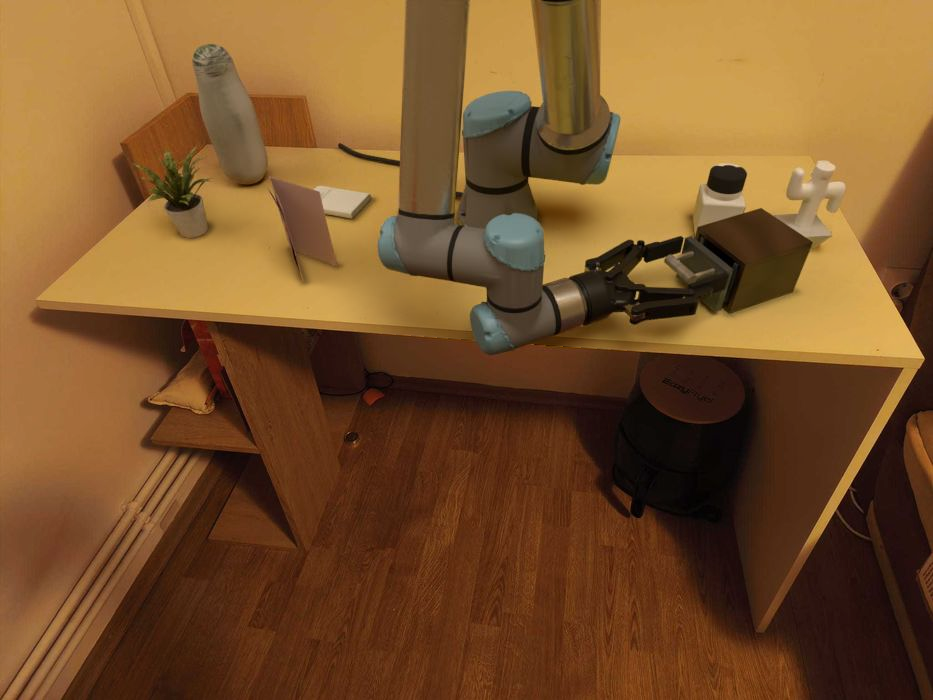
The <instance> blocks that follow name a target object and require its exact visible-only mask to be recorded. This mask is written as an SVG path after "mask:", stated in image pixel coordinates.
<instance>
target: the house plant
mask: <svg viewBox="0 0 933 700" xmlns="http://www.w3.org/2000/svg"><path fill="white" fill-rule="evenodd" d="M197 147H198V145H197V146H194V147H193V148H192V149H191V150H190V151H189V152H188V154H187V156H186V158H183V160H181V161H179V162H178V164H177V163H176V160H175V158H174V156H173V154H172V153H171V151H170V150H169V149H168V148H167V147H166V148H165V150H164V153H163V159H162V158H161V157H160V156H158V155H155V157H156V158H157V159H158V161H159V162H160V163H161V165H162V166H163V168H164V169H165V172H166V175H165V176H164V180H163V179H162V178H161V177H160V176H159V175H158V174H157V173H155V172H154V171H153V170H152V169H150V168H148V167H145V166H142V165H140V164H138V163H132V162H131V164H130V165H133V166H135V167H137V168H138V169H140V170H141V171H143V172H144V173H145V174H146V175H148V176H149V178H151V179H149V178H147V177H142V176H139V177H138V178H139V179H142V180H145V181H147V182H149V183H151V184H153V185H154V186H155V188H150V189H148V192H149V193H151V194H153V195H150V197H149V198H148V201H147V203H149V202H151V201H156V200H159V199H165V200H166V202H165V203H164V206H163V208H164V209H163V210H164V211H165V212H166V214H167V215H168V217H169V218H170V220H171V221H172V223H173V224H174V225H175V227H176V229H177V231H178V232H179V234H180V235H181V236H182V237H184V238H187V239H194V238H198V237H202V236H203V235H205V234H206V233H207V232H208V230H209V225H208V220H207V215H206V210H205V204H204V199H203V197H202V196H201V195H200V194H197V193H198V191H199V190H200V188H201V187H202V186H203V185H204V184H205V183H206V182H210V183H211V182H212V181H211V180H213V179H214V177H209V178H200V179H197V180H195V181H194V182H192V181H193V180H194V177H195V175H196V173H197V172H198V171H200V170H204V169H205V167H199V168H196V169H195V167H196V166H195V165H196V164H197V162H199V161H201V160H202V159H205V158H208V157H209V155H204V156H200V157H198V158H196V159H194V161H192V160H193V158H194V157H195V155H196V153H194V152H195V151H196V149H197ZM191 162H192V163H191ZM182 163H183V166H182V168H181V169H182V171H181V173H179V170H178V167H179V166H180V165H181V164H182ZM194 169H195V170H194ZM193 170H194V171H193ZM197 184H200V185H199V186H198V188H197V189H196V191H195V192H192V190H193V189H194V187H195V186H196V185H197Z"/></svg>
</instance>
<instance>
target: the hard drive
mask: <svg viewBox="0 0 933 700" xmlns="http://www.w3.org/2000/svg"><path fill="white" fill-rule="evenodd" d="M312 190H316V191H319V192H320V196H321V200H322V204H323V208H324V213H325V215H328V216H335V217H339V218H346V219H350V220H353V219H354V218H355V217H356V216H357V215H359V213H360V212H361V211H362V210H363V209H364V208H365V207H366V206H367V205H368V203H369V202H371V200H372V195H371V193H370V192H364V191H363V192H362V191H356V190H352V189H351V190H350V189H345V188H344V189H343V188H339V187H332V186H325V185H319V184H318V185H316V187H314V188H313V189H312Z"/></svg>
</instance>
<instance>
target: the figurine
mask: <svg viewBox="0 0 933 700" xmlns="http://www.w3.org/2000/svg"><path fill="white" fill-rule="evenodd" d="M805 171H806V170H804V168H802V167H795V168H794V169H793V171H792V173H791V175H790V179H789V181H788V184H787V187H786V192H785V195H786V198H787V200H789V201H802V202H801V204H800V207H799V209H798V212H797V213H786V214H773V216H774V217H776V218H777V219H779V220H780V221H782V222H783V223H785V224H786V225H788V226H789V227H791V228H792V229H794V230H795V231H797V232H798V233H800V234H801V235H803V236H804V237H806V238H807V239H809V240H810V241H812V242H813V244H812V246H811V249H810V250H814V249H816V248H817V247H818V246H820V245H822V244H823V243H824V242H826V241H827V240H828V239H830V238H832V237H833V236H834V235H833V233H832V232H831V231H830V229H829V228H827V226H826V224H824V222H823V221H822V220H821V219H820V218H819V217H818V215H817V213H818V211H819V207H820V206H821V203H822V201H823V200H827V199H828V200H827V203H826V205H825V210H827V212H829V213H831V214H834V213H837V212H838V211H839V208H840V206H841V204H842V201H843V199H844V196H845V193H846V189H847V186H846V183H844V182H843V181H830V180H831V178H832V177H833V175H834V172H835V171H836V166H835V164H834V163H831V162H830V161H829V160H825V159H824V160H817V161H816V163H815V164H814V168H813V170H812V172H810V175H809V176H810V179H809V181H808V182H804V178H805V176H806V172H805Z"/></svg>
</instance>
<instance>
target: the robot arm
mask: <svg viewBox="0 0 933 700" xmlns="http://www.w3.org/2000/svg"><path fill="white" fill-rule="evenodd" d="M530 5H531V13H532V14H531V15H532V21H533V31H534V39H535V46H536V54H537V64H538V72H539V79H540V89H541V97H542V103H541V104H540V106H533V105H532V103H533V102H532V100H531V97H530V95H528V93H525V92H522V91H520V90H501V91H496V92H491V93H487V94H485V95H482V96H479V97H477V98H475V99H473V100H472V101H470V102H469V103H468V104H467V105H466V106H465V108H464V111H463V102H464V90H465V77H466V64H467V63H466V62H467V49H468V37H469V23H470V11H471V9H470V8H471V0H405V4H404V32H403V36H404V37H403V58H402V59H403V60H402V61H403V62H402V63H403V64H402V87H401V88H402V89H401V90H402V91H401V116H400V119H401V121H400V143H399V144H400V145H399V147H400V149H399V159H393V158H386V157H381V156H375V155H370V154H365V153H361V152H358V151H356V150H354V149H351V148H350V147H348V146H346V145H345V144H343V143H341V142H339V143H338V144H337V146H338V148H339V149H341V150H343V151H345V152H346V153H348V154H350V155H352V156H354V157H357V158H359V159H365V160H369V161H374V162H379V163H385V164H390V165H396V166H399V176H398V204H397V206H398V209H397V210H398V211H397V215H390V216H388V217H386V219H385V220H384V221H383V222H382V225H381V226H380V230H379V237H378V239H377V254H378V258H379V261H380V263H381V264H382V266H383V267H384V268H385V269H387V270H389V271H394V272H397V273H401V274H404V275H405V274H406V275H409V276H410V277H421V278H429V279H433V280H434V279H435V280H441V281H447V282H451V283H452V282H453V283H458V284H464V285H470V286H473V287H481V288H485V290H486V301H481V302H480V303H478V304H475V305H473V306H472V307H471V309H470V312H469V323H470V328H471V333H472V335H473V338H474V340H475V342H476V344H477V346H478V348H479V349H480V350H481V351H482V352H483V353H484V354H485V355H488V356H494V355H499V354H503V353H507V352H511V351H512V352H514V351H516V350H517V349H520V348H522V347H525V346H528V345H532V344H535V343H537V342H540V341H543V340H546V339H549V338H552V337H555V336H557V335H561V334H564V333H567V332H571V331H574V330H576V329H580V328H581V327H582V326H583V327H585V326H589V325H593V324H596V323H599V322H601V321H604V320H606V319H607V318H608V317H610V316H611V315H612V314H614V313H624V314H626V315H627V316H628V317H629V320H628V323H629V324H630V325H633V326H635V325H638V324H640V323H644V322H646V321H654V320H662V319H672V318H680V317H682V318H683V317H689V316H695V315H696V314H697V310H698V307H699V303H700V301H702V300H703V299H706V298H709V297H711V295H712V293H715V292H719V291H722V290H725V287H726V284H727V281H728V278H729V274H728V273H726V272H724V273H721V274H718V275H715V276H712V277H709V278H706V279H703V280H700V281H697V282H694V283H691V284H689V286H688V287H686V288H685V287H665V286H663V287H661V286H660V287H659V286H647V285H645V284H644V283H635V281H633V280H631V279H630V277H629V276H628V275H629V274H630V273H631V272H632V271H633V270H634V269H635V268H636V267H637V266H638V264H640V262H641V261H643V262H645V263H646V264H648V263H651V262H654V261H657V260H660V259H665V258H666V256H668V255H670V254H671V255H673V256H674V255H677V254H679V253H680V254H681V253H682V249H683V245H684V241H685V237H683V236H682V235H678V236H676V237H672V238H669V239H666V240H662V241H654V242H650V243H646V242H645V240H642V239H639V240H637V241H636V244H635V241H634V240H633V239H626V240H625V241H623V242H621V243H620V244H618V245H616V246H614V247H612V248H611V249H609V250H607V251H606V252H603V253H602V254H600V255H599V256H597V257H593V258H588V259H585V263H584V271H583V272H580V273H577V274H573V275H570V276H569V277H562V278H560V279H556V280H553V281H550V282H547V283H544V269H545V262H546V254H545V252H546V251H545V231H544V228H543V226H542V224H541V223H540V222H539V221H538V204H539V201H537V202H536V201H535V198H534V195H533V191H532V188H531V185H530V182H529V178H532V179H541V180H548V181H549V180H550V181H556V182H564V183H571V184H578V185H582V186H584V185H595V186H599V185H601V184H603V183H604V182H605V181H606V179H607V177H608V174H609V171H610V165H611V162H612V157H613V154H614V150H615V145H616V142H617V138H618V133H619V130H620V125H621V116H620V114H618V113H614V111H611V110H610V106H609V104H608V102H607V100H606V99H605V98H604V97H603V96H602V94H601V60H602V59H601V53H602V50H601V48H602V47H601V46H602V44H601V42H602V39H601V38H602V25H601V24H602V0H530ZM461 129H462V131H461ZM461 136H462V146H463V159H464V160H463V161H464V163H463V164H464V175H465V177H464V179H465V185H464V188H463V192H461V191H457V183H458V173H459V170H458V169H459V157H460V145H461ZM456 198H460V202H459V205H458V210H457V221H458V224H455V215H456ZM536 203H537V204H536ZM637 292H638V293H637ZM636 297H637V298H636Z"/></svg>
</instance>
